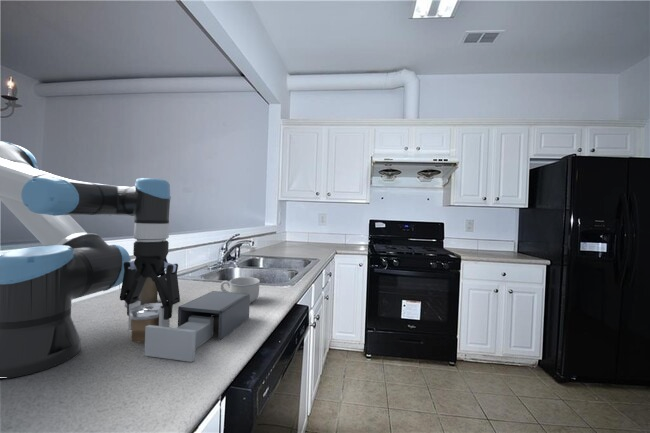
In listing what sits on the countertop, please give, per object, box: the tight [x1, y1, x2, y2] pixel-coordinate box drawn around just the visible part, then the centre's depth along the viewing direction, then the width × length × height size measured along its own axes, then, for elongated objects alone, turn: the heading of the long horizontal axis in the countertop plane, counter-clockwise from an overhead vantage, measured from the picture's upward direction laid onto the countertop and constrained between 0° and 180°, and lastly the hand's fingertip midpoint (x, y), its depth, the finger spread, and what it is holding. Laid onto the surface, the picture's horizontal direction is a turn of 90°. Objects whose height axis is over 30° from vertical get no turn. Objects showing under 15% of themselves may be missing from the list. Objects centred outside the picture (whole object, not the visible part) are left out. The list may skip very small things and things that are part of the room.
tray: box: [144, 315, 215, 363], centre depth 67 cm, size 12×12×6 cm
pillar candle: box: [124, 268, 159, 308], centre depth 96 cm, size 10×10×15 cm
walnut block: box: [131, 318, 159, 344], centre depth 70 cm, size 5×5×6 cm
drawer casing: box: [177, 290, 251, 341], centre depth 79 cm, size 16×12×8 cm
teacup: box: [220, 276, 261, 304], centre depth 102 cm, size 14×11×8 cm
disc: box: [130, 302, 163, 320], centre depth 70 cm, size 8×8×2 cm
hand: (148, 329), depth 70 cm, fingers closed on disc, 8 cm apart
